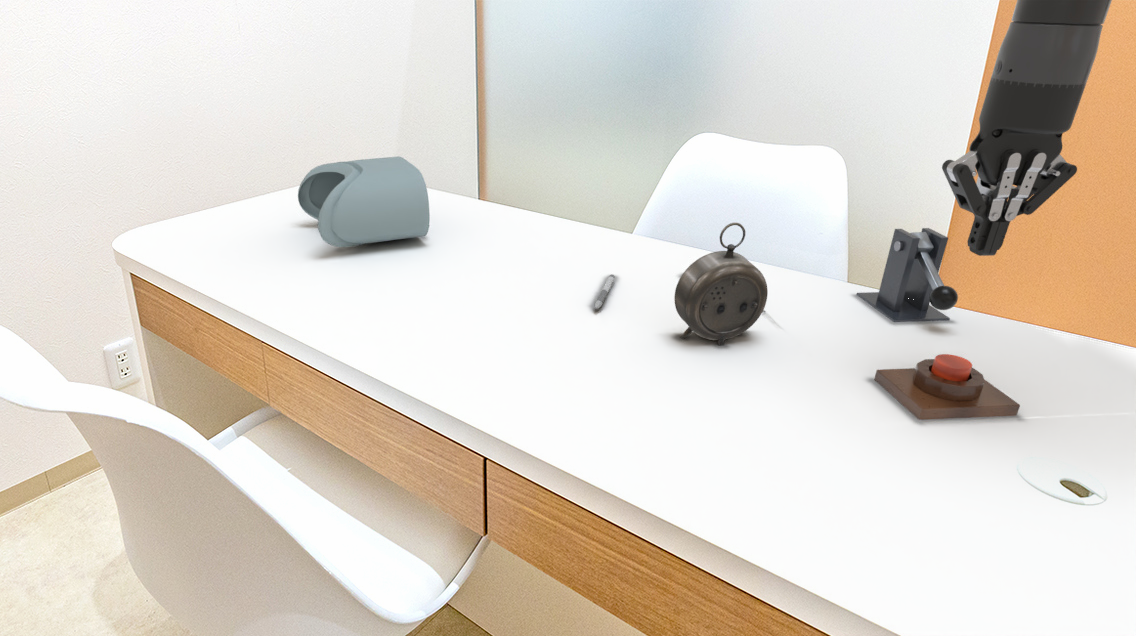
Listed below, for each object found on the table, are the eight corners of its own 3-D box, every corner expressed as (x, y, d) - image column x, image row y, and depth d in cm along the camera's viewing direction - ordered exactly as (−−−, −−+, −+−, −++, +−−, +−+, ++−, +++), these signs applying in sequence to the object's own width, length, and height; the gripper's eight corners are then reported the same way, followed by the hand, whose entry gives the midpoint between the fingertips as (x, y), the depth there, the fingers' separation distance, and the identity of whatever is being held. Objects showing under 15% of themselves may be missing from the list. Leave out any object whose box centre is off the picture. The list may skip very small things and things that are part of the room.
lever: (953, 314, 98) (967, 299, 96) (930, 315, 98) (943, 300, 96) (918, 245, 105) (931, 229, 102) (897, 246, 105) (908, 230, 102)
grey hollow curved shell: (431, 248, 132) (428, 175, 126) (322, 261, 125) (314, 185, 119) (396, 215, 150) (392, 150, 144) (300, 225, 143) (292, 157, 137)
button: (954, 367, 84) (958, 353, 84) (975, 382, 81) (980, 368, 80) (924, 368, 84) (928, 354, 83) (943, 383, 81) (948, 369, 80)
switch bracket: (947, 326, 103) (973, 244, 98) (892, 328, 102) (914, 245, 97) (906, 298, 112) (927, 221, 107) (855, 300, 111) (873, 222, 106)
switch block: (960, 382, 89) (970, 352, 87) (1014, 422, 81) (1026, 390, 79) (872, 385, 88) (880, 355, 86) (917, 426, 80) (927, 394, 78)
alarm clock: (744, 332, 101) (765, 214, 94) (764, 349, 96) (787, 227, 89) (667, 337, 99) (682, 218, 92) (683, 356, 95) (700, 231, 87)
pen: (615, 281, 118) (616, 272, 117) (599, 315, 106) (599, 305, 105) (609, 280, 118) (609, 272, 117) (592, 314, 106) (592, 305, 106)
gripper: (998, 80, 66) (942, 266, 74) (1138, 81, 67) (1068, 265, 75) (946, 71, 73) (900, 242, 81) (1074, 72, 74) (1016, 241, 82)
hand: (981, 253), depth 78 cm, fingers closed
